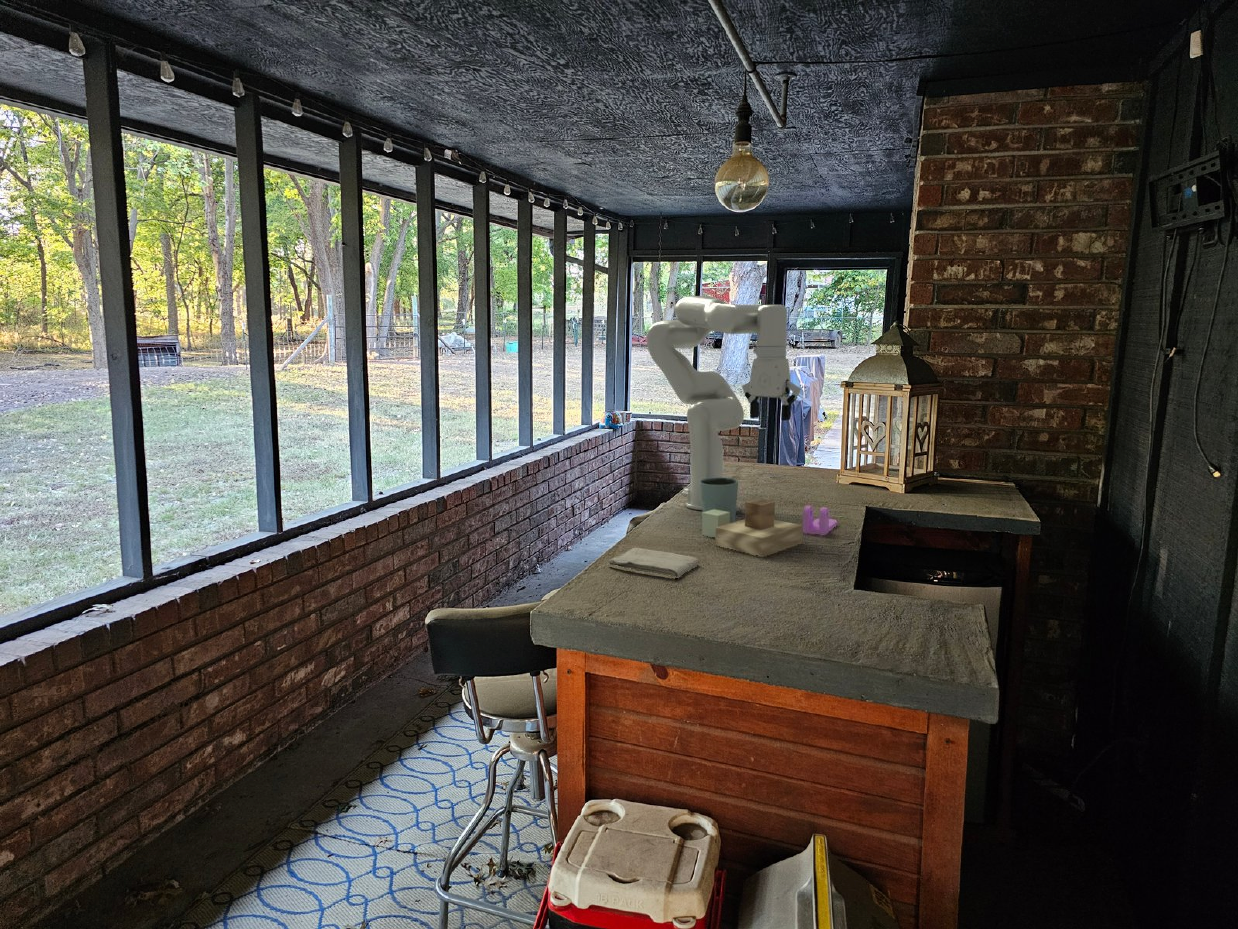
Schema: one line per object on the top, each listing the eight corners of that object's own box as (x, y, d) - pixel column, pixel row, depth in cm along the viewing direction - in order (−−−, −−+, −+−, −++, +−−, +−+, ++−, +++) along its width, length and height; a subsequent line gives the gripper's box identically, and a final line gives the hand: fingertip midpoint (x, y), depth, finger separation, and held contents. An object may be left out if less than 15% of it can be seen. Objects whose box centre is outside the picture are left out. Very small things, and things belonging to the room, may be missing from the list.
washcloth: (631, 556, 182) (631, 544, 182) (701, 567, 173) (701, 553, 173) (605, 570, 172) (605, 557, 171) (678, 582, 163) (678, 568, 163)
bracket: (824, 536, 196) (825, 509, 195) (802, 533, 199) (803, 507, 198) (839, 524, 207) (839, 499, 206) (818, 522, 210) (819, 497, 208)
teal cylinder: (742, 521, 211) (742, 478, 209) (731, 530, 202) (731, 485, 200) (706, 518, 215) (706, 476, 213) (694, 527, 206) (694, 483, 204)
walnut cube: (744, 526, 188) (745, 502, 187) (757, 522, 192) (758, 498, 191) (761, 529, 185) (761, 505, 184) (774, 526, 188) (774, 502, 187)
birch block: (715, 547, 189) (715, 527, 188) (755, 534, 199) (755, 516, 198) (762, 559, 178) (763, 538, 178) (801, 545, 189) (802, 525, 188)
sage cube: (702, 535, 198) (702, 512, 197) (713, 531, 201) (714, 509, 200) (717, 539, 195) (718, 515, 193) (729, 535, 198) (729, 512, 197)
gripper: (735, 353, 205) (734, 417, 208) (792, 354, 193) (790, 422, 196) (752, 352, 210) (751, 415, 213) (808, 353, 198) (806, 419, 201)
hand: (770, 418), depth 204 cm, fingers open, 9 cm apart
